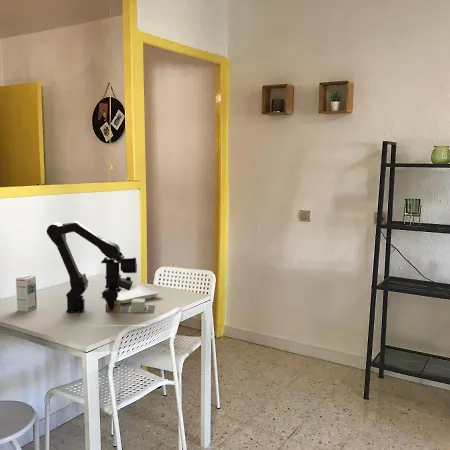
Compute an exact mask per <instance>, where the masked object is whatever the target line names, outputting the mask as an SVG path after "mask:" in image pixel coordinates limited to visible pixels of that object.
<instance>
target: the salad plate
mask: <svg viewBox="0 0 450 450" xmlns="http://www.w3.org/2000/svg"><path fill="white" fill-rule="evenodd" d="M104 290H105V289H103V290H100V291H99V293H100V294H101V295H102V293H103V291H104ZM159 294H160V292H158V291H156V290H154V289H153V290H152V289H150V288H148V287H144V286H142V285H139V284H132V286H131V289H130V290H126V289H124V288H121V291H120V292H119V293H118V297H117V300H120V304H122V305H123V304H129V303H131V302H132V299H145V300H149V299H153V298H155V297H157V296H158V295H159Z"/></svg>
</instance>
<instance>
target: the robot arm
mask: <svg viewBox="0 0 450 450" xmlns="http://www.w3.org/2000/svg"><path fill="white" fill-rule="evenodd" d="M68 233H69V234H70V233H75V234H77V235H79V236H80V237H81V238H83V239H85V240H86V241H87V242H89V243H91V244H92V245H93V246H95V247H96V248H98V249H99V251H100V253H102V254H103V255H104V256H105V257H104V258H103V260H101V262H100V264H105V277H104V278H105V287H104V288H105V289H103V290H104V291H103V290H102V291H103V293H102V294H101V296H102V298H103V299H104V301H105V303H106V302H107V304H108V306H109V308H110V310H111V311H110V312H114V311H113V308H114V303H115V300H117V297H118V293H119V292H120V291H121V288H124V289H126V290H130V289H131V286H132V285H134V284H133V283H134V282H133V280H132V277H131V276H126V277H125V278H124V277H122V275H121V273H120V272H122V273H123V274H137V273H138V271H137V270H138V262H137V257H134V256H133V257H125V255H124V254H123V253H122V252H121V249H120V245H118V244H117V243H115V242H112V241H111V240H107V239H106V238H103V237H101V236H99V235H97V234H96V233H95V232H93V231H92V230H91V229H89V228H88V227H86V226H84V225H83V224H81V222H79V221H74V222H68V223H67V222H65V223H60V222H54V223H52V224H50V225H49V226H48V227H47V229H46V234H47V237H48V238H49V239H50V240H51V241H52V242H53V244H54V245H55V246H56V248H57V251H58V252H59V255H60V258H61V260H62V262H63V265H64V267H65V269H66V271H67V273H68V276H69V284H70V285H69V286H70V290H69V291H68V292H67V293H66V294H65V296H66V301H67V302H66V305H67V306H66V309H67V310H65V311H66V313H82V312H83V311H84V310H85V308H86V307H85V304H86V303H85V302H86V301H85V298H84V295H83V294H84V293H85V291H86V290H87V289H88V286H89V282H90V281H89V280H88V279H87V275H86V273H83V274H82V273H81V272H80V271H79V268H78V266H77V264H76V262H75V261H76V260H75V259H74V256H73V254H72V252H71V250H70V249H71V248H70V246H69V244H68V243H67V234H68Z"/></svg>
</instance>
